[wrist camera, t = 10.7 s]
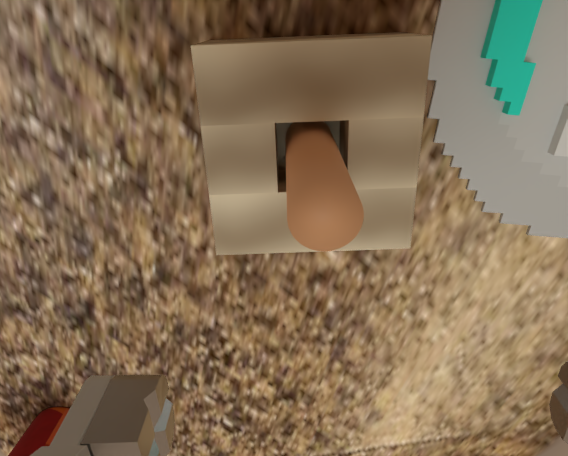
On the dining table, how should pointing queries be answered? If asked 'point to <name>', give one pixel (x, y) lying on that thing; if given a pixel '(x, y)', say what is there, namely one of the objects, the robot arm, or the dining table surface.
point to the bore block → (310, 108)
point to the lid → (505, 105)
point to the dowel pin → (319, 189)
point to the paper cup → (40, 431)
